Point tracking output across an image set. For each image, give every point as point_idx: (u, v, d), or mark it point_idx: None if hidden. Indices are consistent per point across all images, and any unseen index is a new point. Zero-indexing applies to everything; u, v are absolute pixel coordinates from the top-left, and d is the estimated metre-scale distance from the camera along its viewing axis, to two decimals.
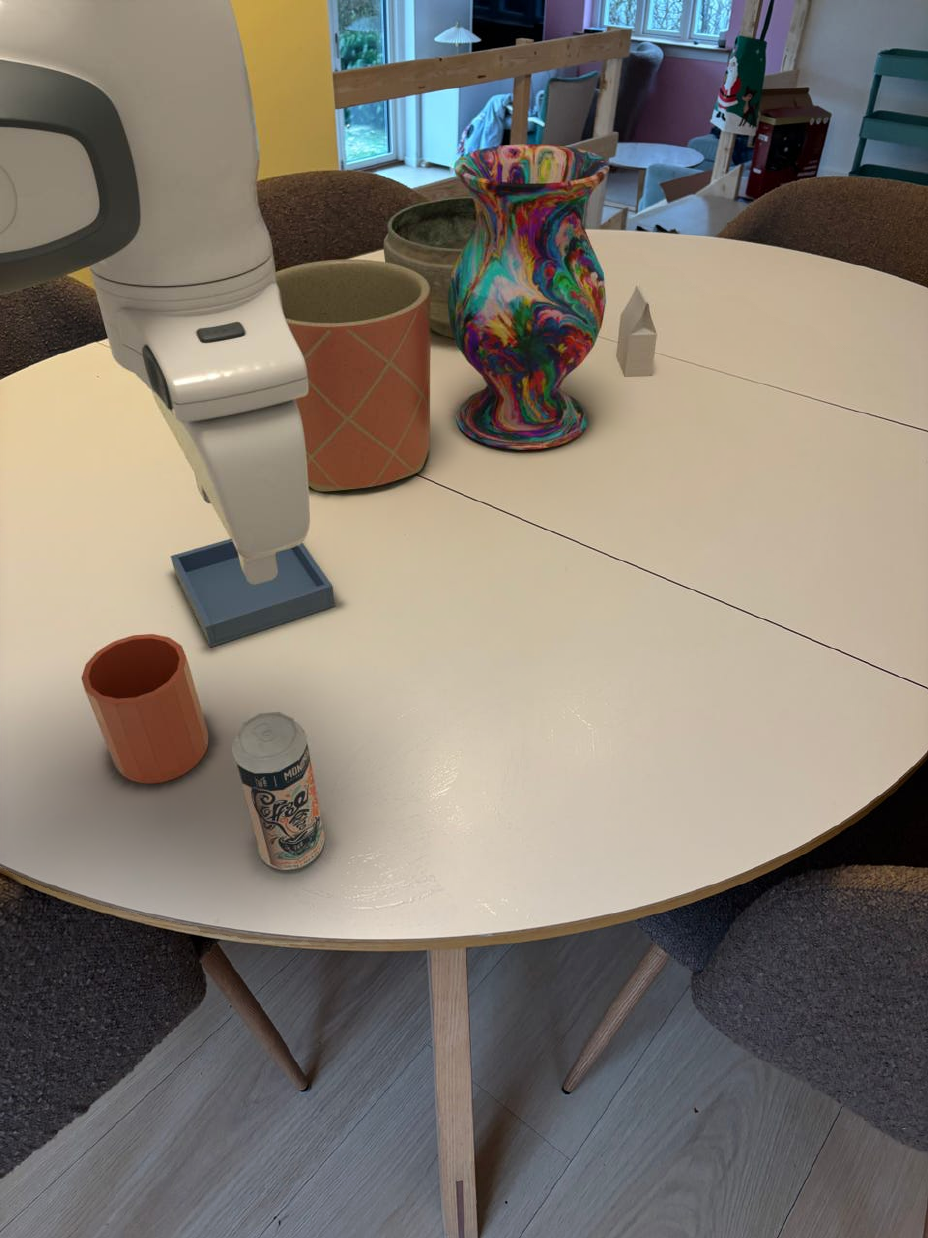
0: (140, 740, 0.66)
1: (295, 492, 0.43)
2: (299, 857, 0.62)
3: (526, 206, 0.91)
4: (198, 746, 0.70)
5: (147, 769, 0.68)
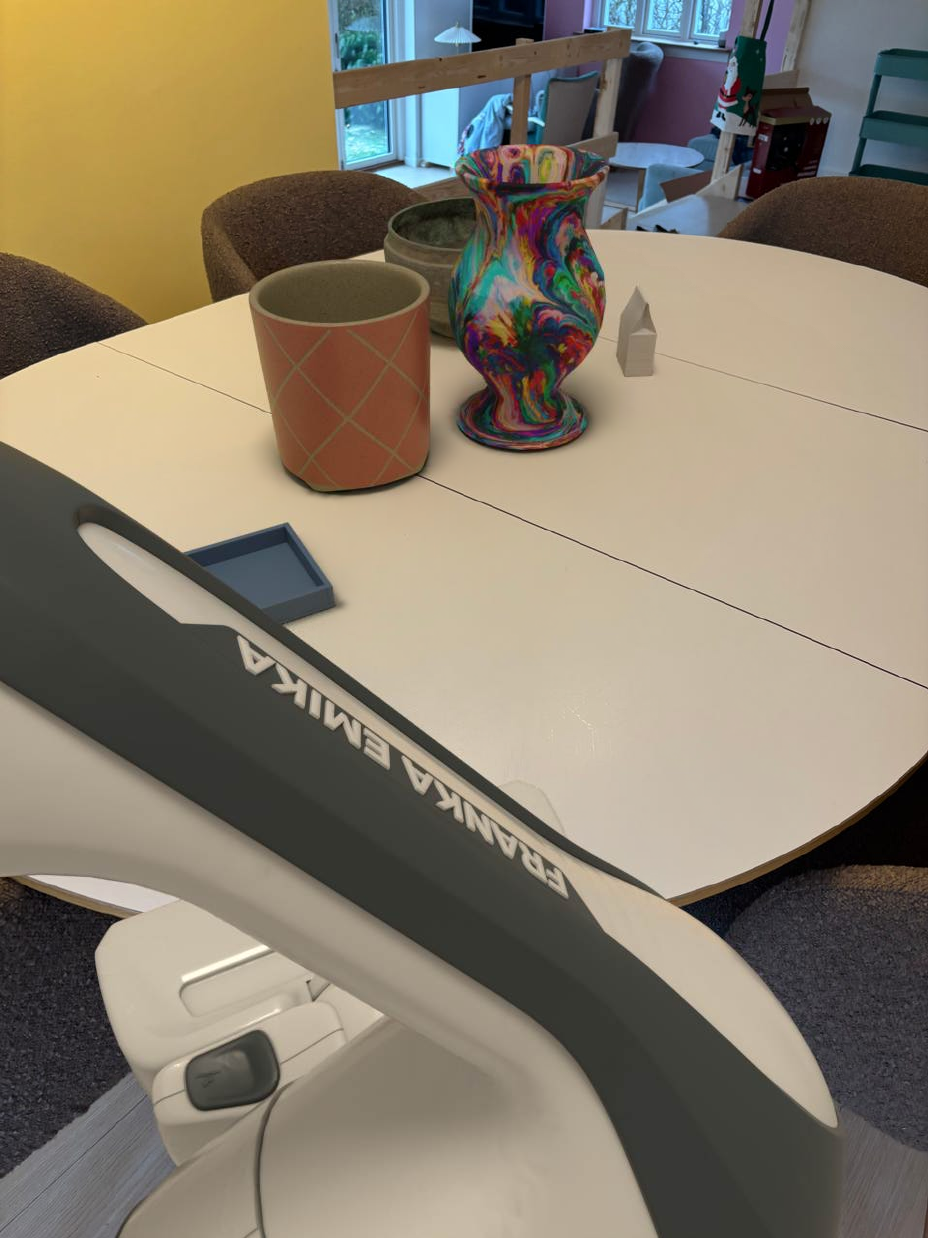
0: None
1: None
2: None
3: (526, 206, 0.91)
4: None
5: None
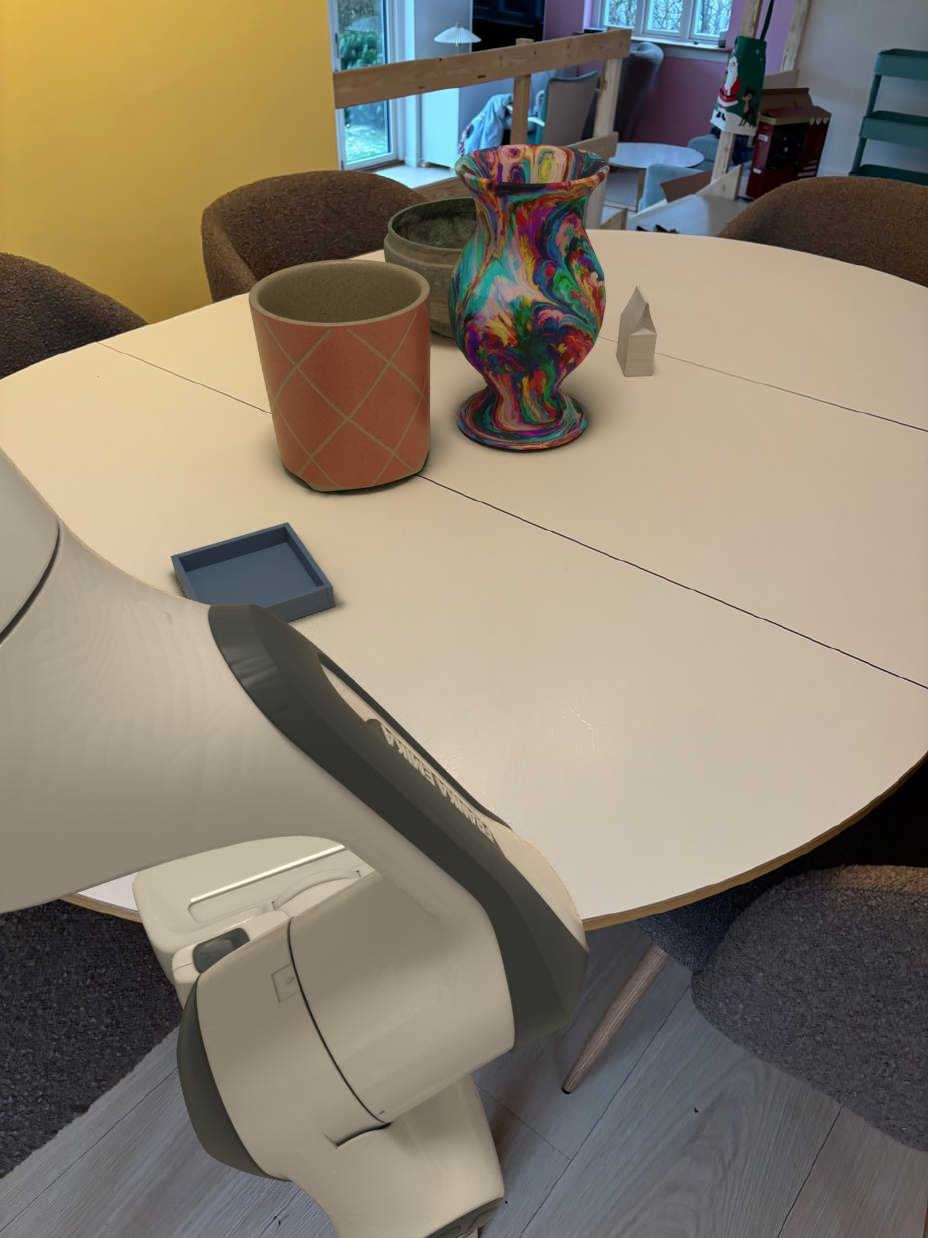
0: None
1: None
2: None
3: (526, 206, 0.91)
4: None
5: None
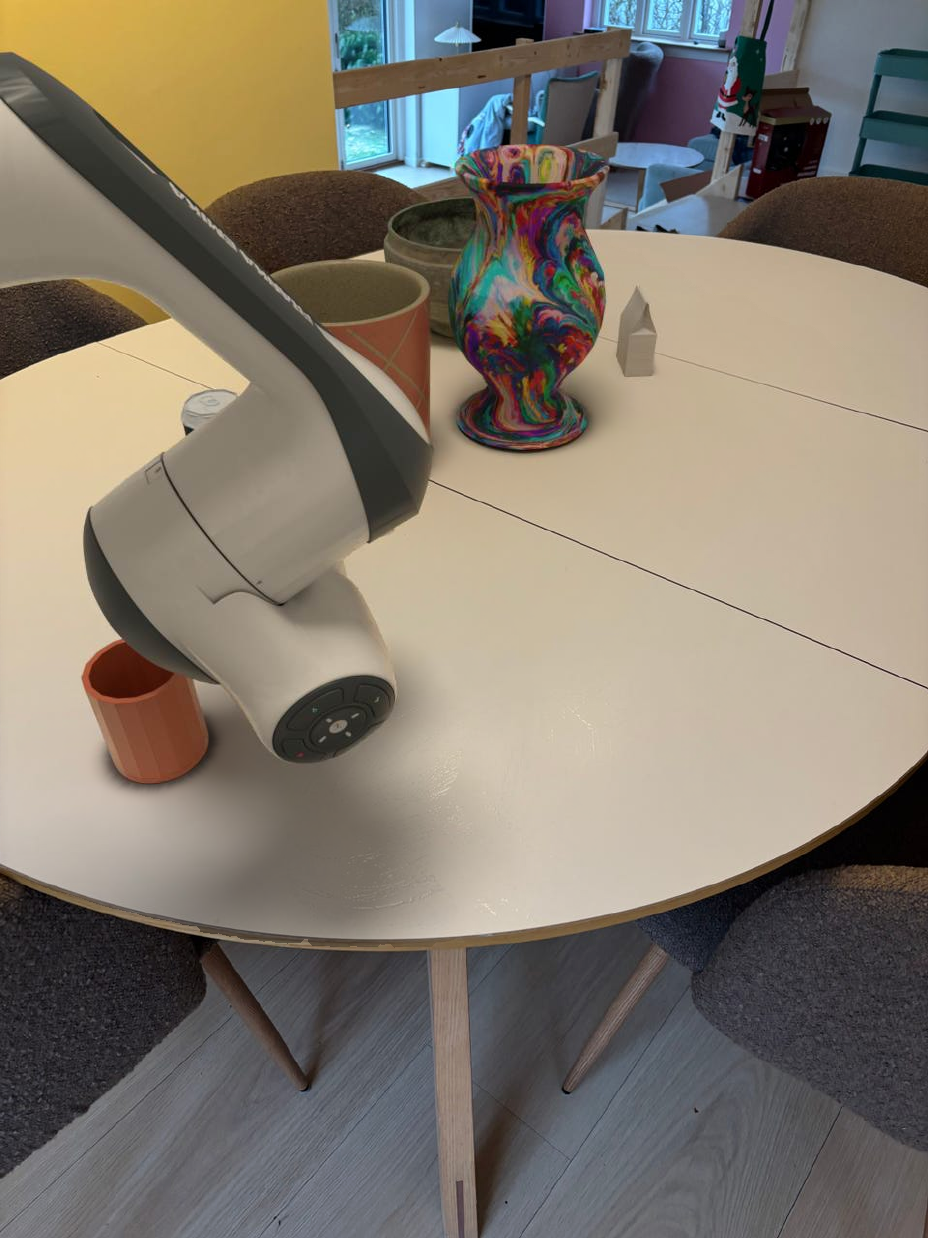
0: (140, 740, 0.66)
1: None
2: None
3: (526, 206, 0.91)
4: (198, 746, 0.70)
5: (147, 769, 0.68)
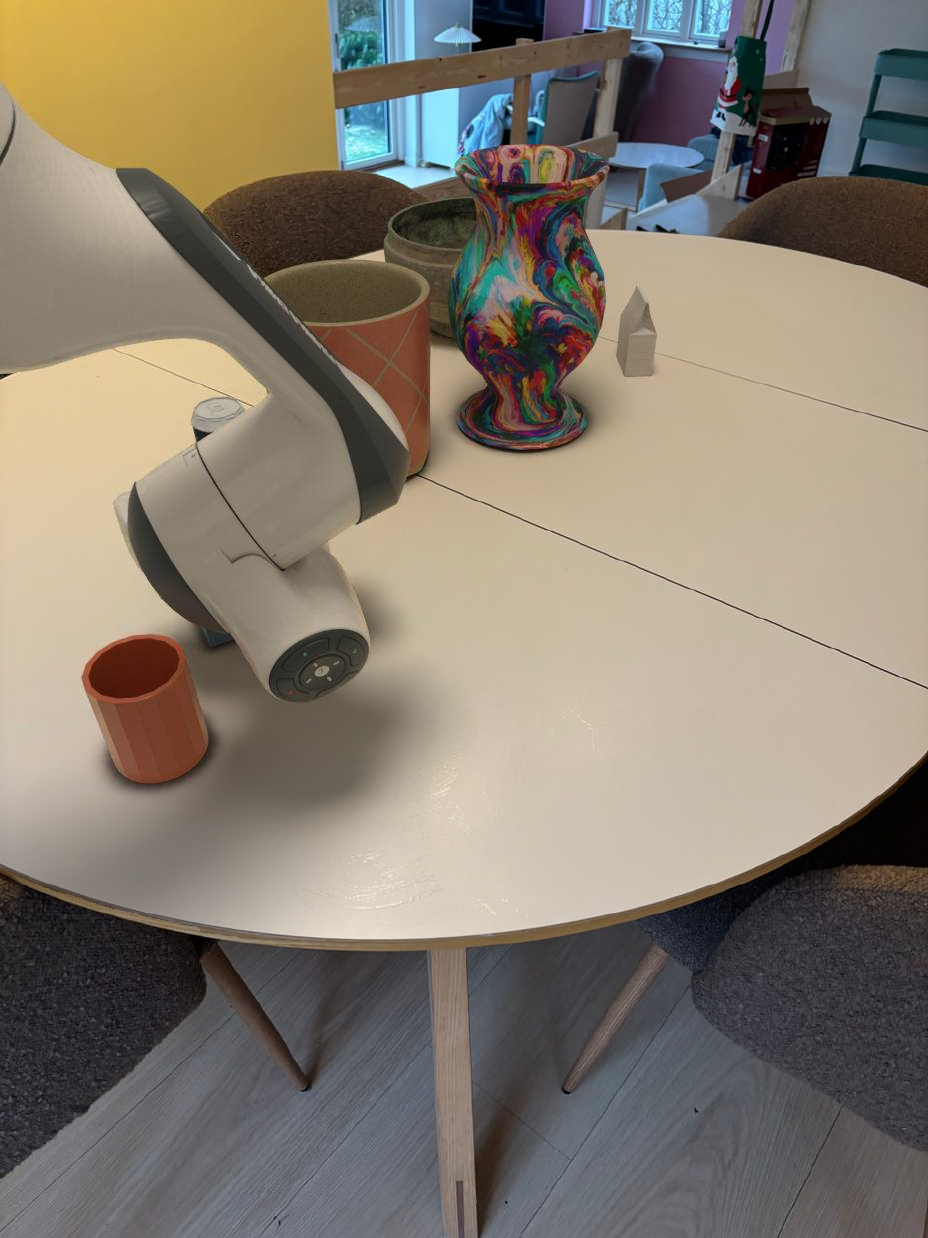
0: (140, 740, 0.66)
1: (127, 547, 0.71)
2: None
3: (526, 206, 0.91)
4: (198, 746, 0.70)
5: (147, 769, 0.68)
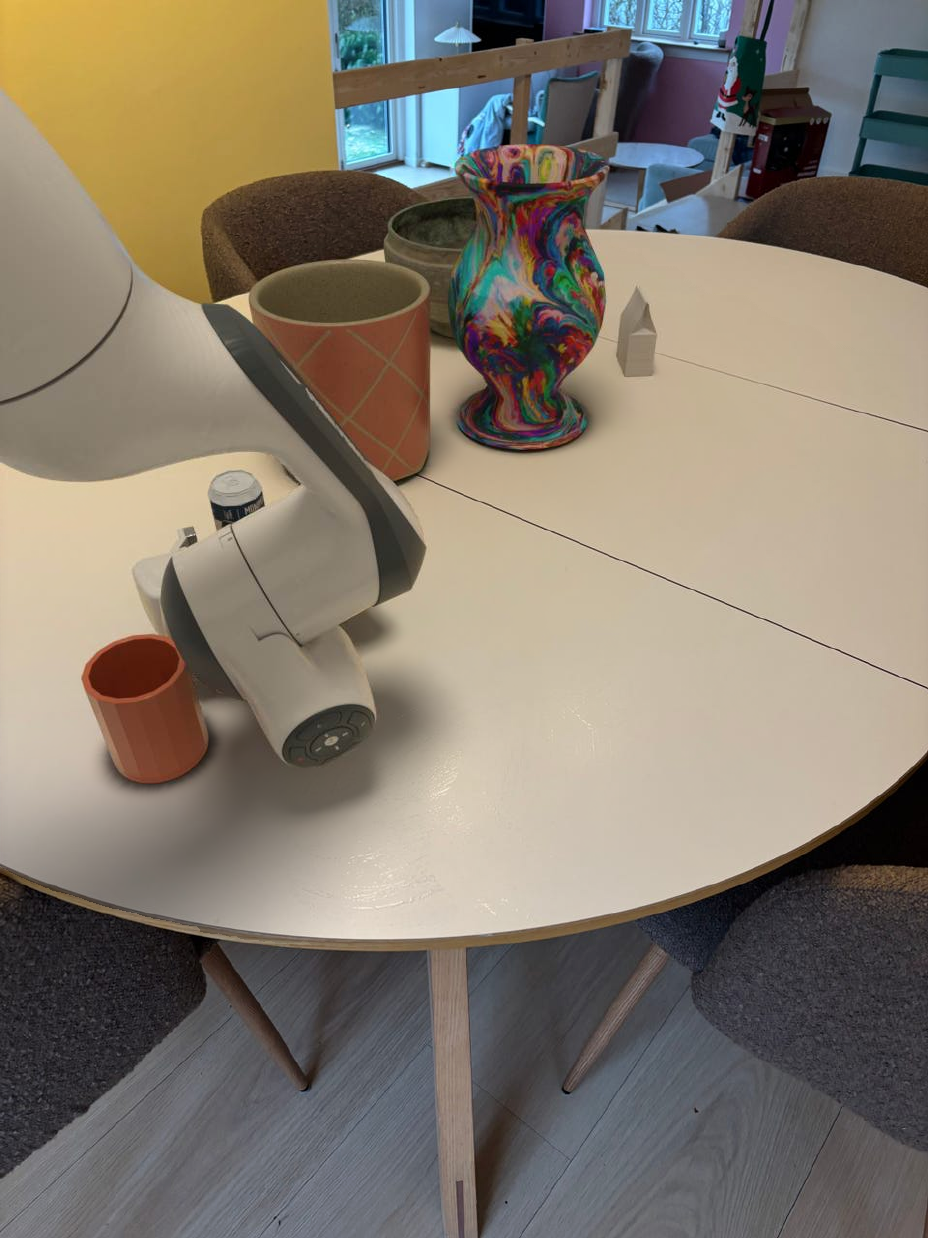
0: (140, 740, 0.66)
1: (146, 612, 0.75)
2: None
3: (526, 206, 0.91)
4: (198, 746, 0.70)
5: (147, 769, 0.68)
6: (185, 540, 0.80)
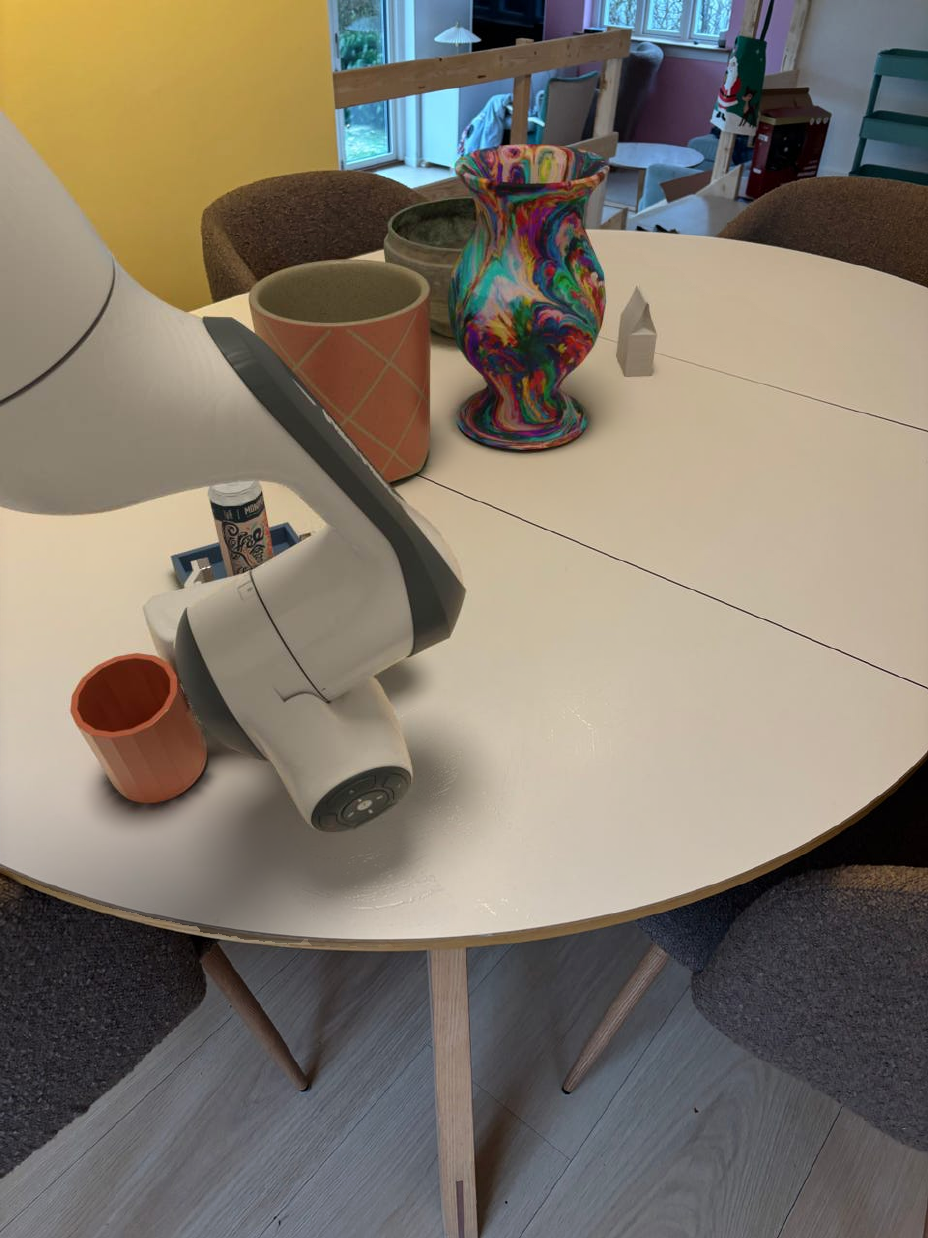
0: (120, 767, 0.64)
1: (158, 653, 0.70)
2: None
3: (526, 206, 0.91)
4: (187, 775, 0.68)
5: (131, 790, 0.67)
6: (199, 573, 0.74)
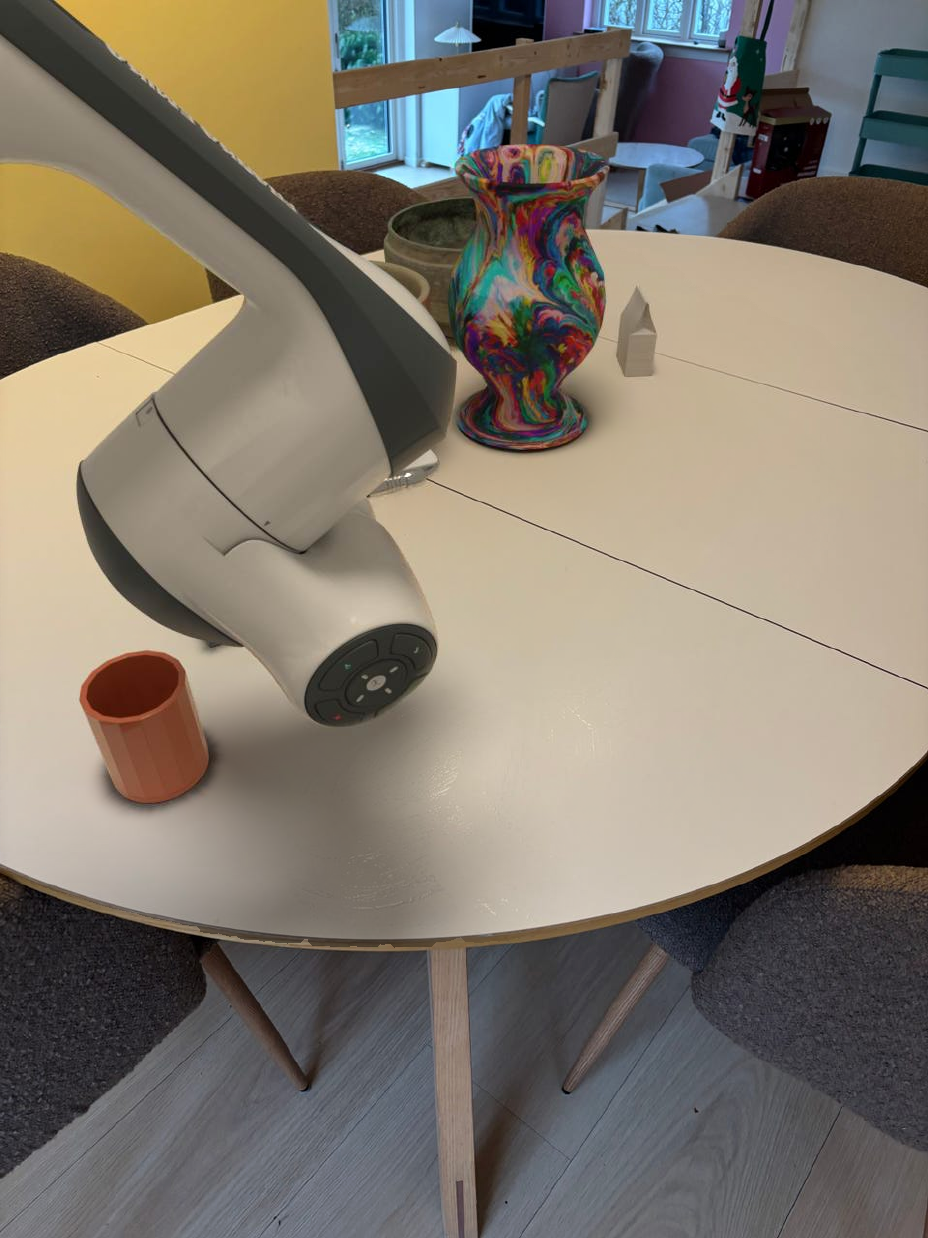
0: (124, 759, 0.65)
1: None
2: None
3: (526, 206, 0.91)
4: (189, 774, 0.68)
5: (132, 788, 0.67)
6: None
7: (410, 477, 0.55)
